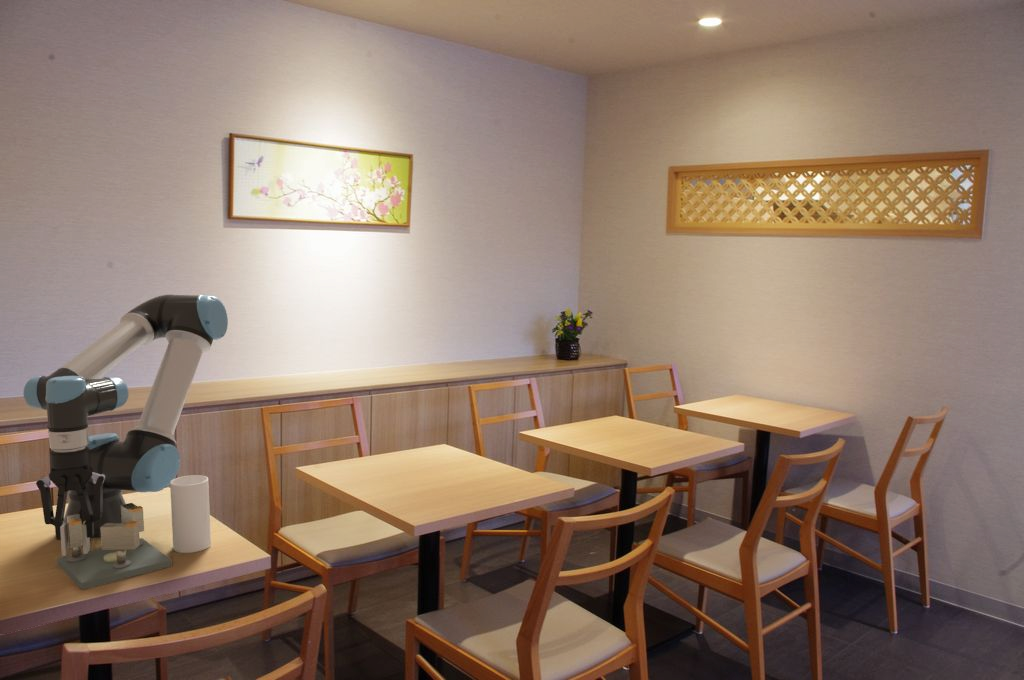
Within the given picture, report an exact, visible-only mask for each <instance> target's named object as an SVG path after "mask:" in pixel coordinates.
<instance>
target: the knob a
mask: <svg viewBox="0 0 1024 680" xmlns="http://www.w3.org/2000/svg"><path fill="white" fill-rule="evenodd" d="M67 523H68V538H69V549H70V550H71V555H72V557H79V556H81V553H82V550H81V549H82V547H83V537H82V521H81V519H80V515H79V514H77V515H70V516H67Z"/></svg>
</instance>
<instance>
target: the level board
mask: <svg viewBox="0 0 1024 680" xmlns="http://www.w3.org/2000/svg"><path fill="white" fill-rule="evenodd" d="M139 541H140V546H138V547H137V548H136V549H135V550H126V562H125V563H120V564H119V563H117V553H116V550H102V547H98V548H94V549H90V550H89V552H88V553H87V554H83V551H81V556H79V557H72V554H70V555H66V556H61V557H57V558H56V561H57V562H56V564H57V566H58V567H59V568H60V569H61V570H62V571H63V573H65V574H66V575H67V576H68V577H69V578H70V579H71V581H73V582H74V583H75V585H77V586H78V588H80V590H82V591H84V590H88V589H91V588H96V587H98V586H102V585H106V584H110V583H114V582H118V581H122V580H126V579H129V578H132V577H136V576H140V575H143V574H147V573H150V572H155V571H157V570H158V571H159V570H162V569H165V568H169V567H172V566H173V563H172V559H171V558H170V557H169V556H168V555H166V554H165V553H164V552H162V551H160V550H159V549H158V548H156V547H155V546H153V545H152V544H151V543H150V542H148V541H147V540H145V539H144V538H143V537H141V538H140V537H139Z"/></svg>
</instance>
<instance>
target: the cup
mask: <svg viewBox="0 0 1024 680" xmlns="http://www.w3.org/2000/svg"><path fill="white" fill-rule="evenodd" d="M169 487H170V504H171V505H170V508H171V511H170V512H171V527H172V528H171V529H172V530H171V531H172V546H173V547H172V549H173V551H175V552H176V553H181V554H189V553H191V554H192V553H197V552H200V551H203V550H207V549H209V547H211V546H212V537H211V534H212V533H211V512H210V511H211V510H210V509H211V508H210V492H209V491H210V488H209V477H208V476H206V475H199V474H198V475H197V474H191V475H184V476H179V477H175V479H173V480H171V482H170V485H169Z"/></svg>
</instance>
